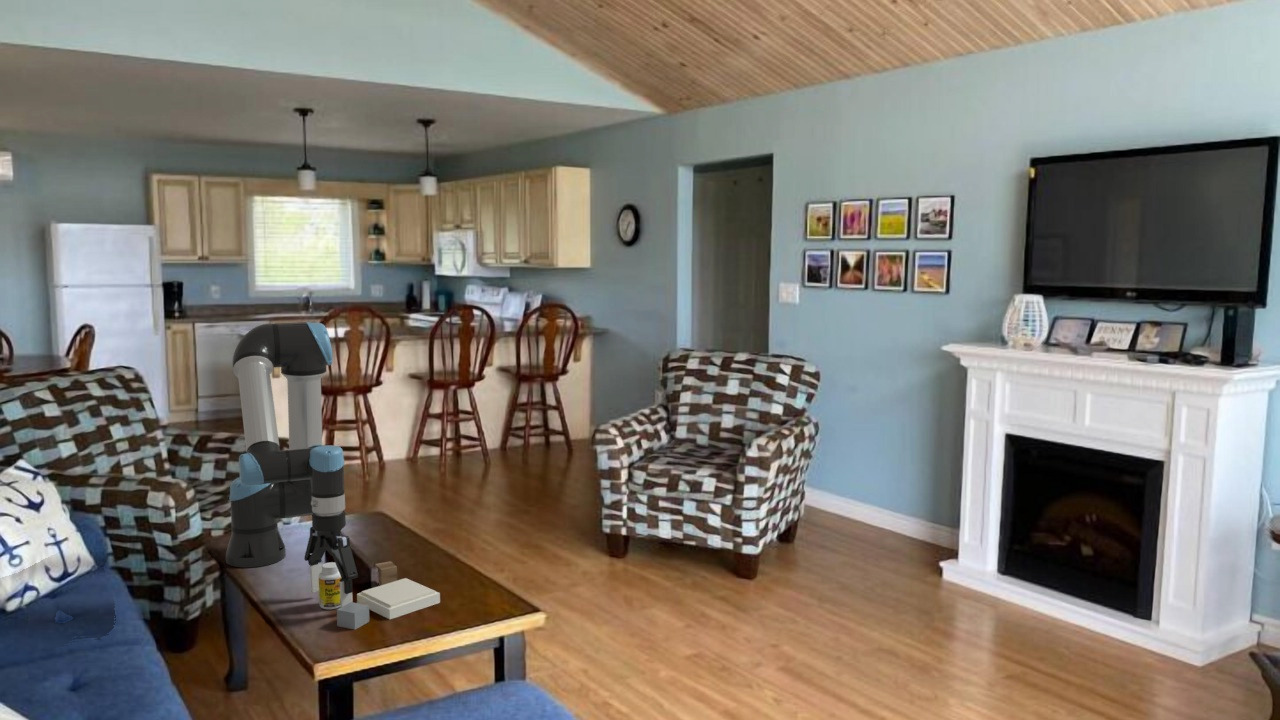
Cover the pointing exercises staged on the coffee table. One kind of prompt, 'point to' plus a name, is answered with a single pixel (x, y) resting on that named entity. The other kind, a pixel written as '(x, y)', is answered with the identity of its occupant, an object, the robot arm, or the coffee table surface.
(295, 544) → the coffee table surface
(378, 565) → the walnut block
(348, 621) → the grey matte cube
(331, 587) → the supplement bottle
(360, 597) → the podium
